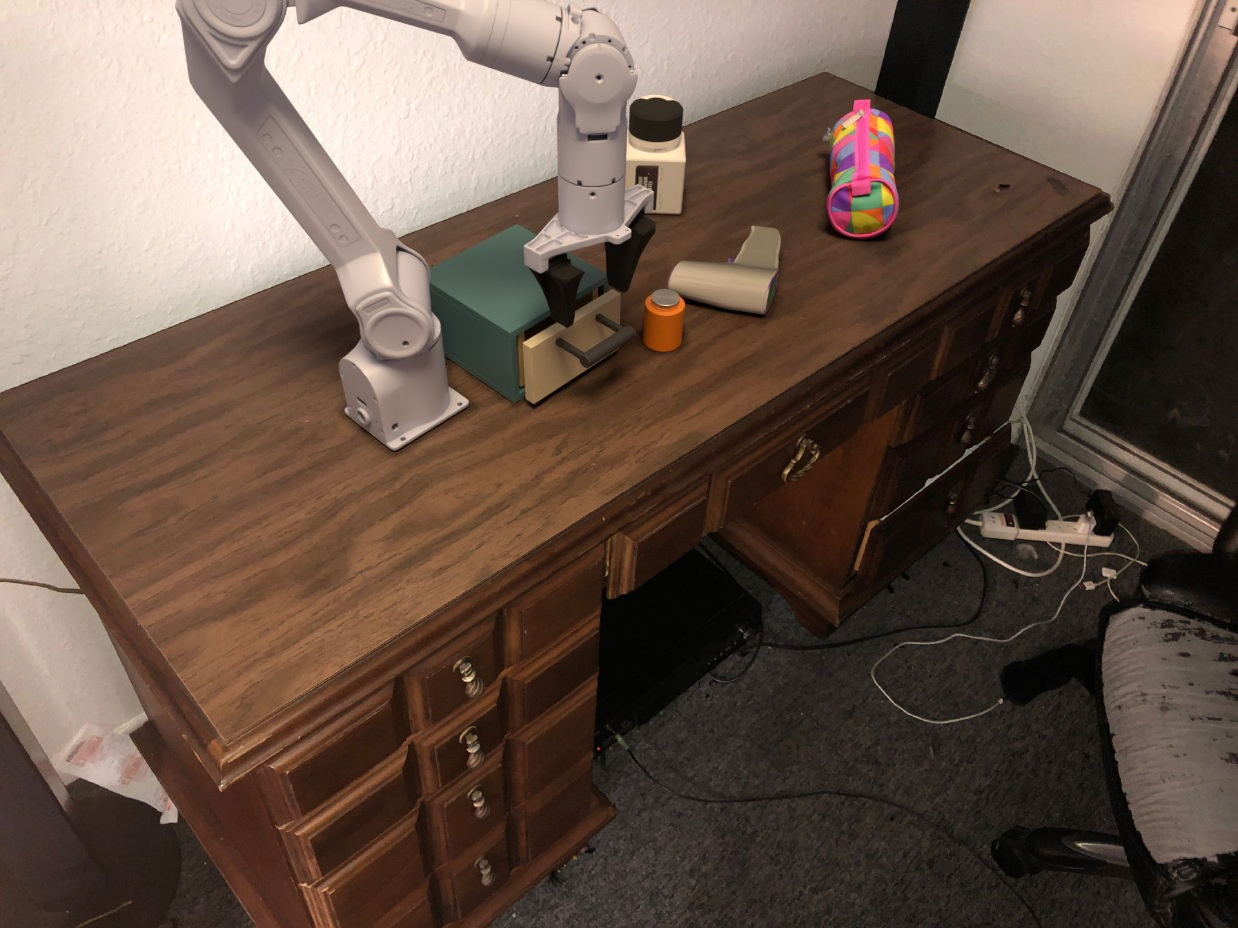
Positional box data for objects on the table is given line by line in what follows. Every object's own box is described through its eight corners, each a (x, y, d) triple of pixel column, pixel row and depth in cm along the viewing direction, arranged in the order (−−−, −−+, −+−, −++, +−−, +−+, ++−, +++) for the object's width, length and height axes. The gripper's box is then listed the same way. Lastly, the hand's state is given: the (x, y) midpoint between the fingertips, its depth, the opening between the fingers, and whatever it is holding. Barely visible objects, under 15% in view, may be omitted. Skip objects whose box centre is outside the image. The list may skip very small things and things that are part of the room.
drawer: (652, 368, 97) (656, 313, 92) (567, 427, 91) (566, 371, 86) (536, 299, 105) (534, 245, 100) (450, 348, 99) (443, 293, 94)
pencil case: (817, 158, 133) (829, 95, 126) (885, 165, 132) (901, 101, 126) (818, 241, 117) (832, 174, 111) (895, 248, 117) (913, 181, 110)
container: (681, 216, 121) (689, 118, 111) (620, 214, 121) (624, 115, 111) (679, 185, 126) (687, 89, 117) (621, 183, 126) (625, 87, 117)
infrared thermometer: (782, 257, 116) (772, 321, 105) (684, 243, 118) (664, 305, 107) (788, 222, 113) (778, 285, 102) (688, 209, 115) (667, 269, 104)
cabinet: (607, 344, 102) (609, 274, 95) (514, 403, 94) (509, 333, 88) (520, 292, 108) (517, 223, 102) (427, 344, 101) (416, 274, 94)
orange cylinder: (664, 357, 100) (667, 314, 96) (634, 340, 102) (637, 297, 98) (689, 339, 103) (693, 297, 99) (660, 323, 104) (663, 280, 100)
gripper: (565, 221, 73) (567, 358, 83) (683, 157, 81) (673, 289, 91) (502, 188, 77) (512, 324, 86) (622, 130, 84) (618, 260, 94)
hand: (591, 304), depth 89 cm, fingers open, 7 cm apart
